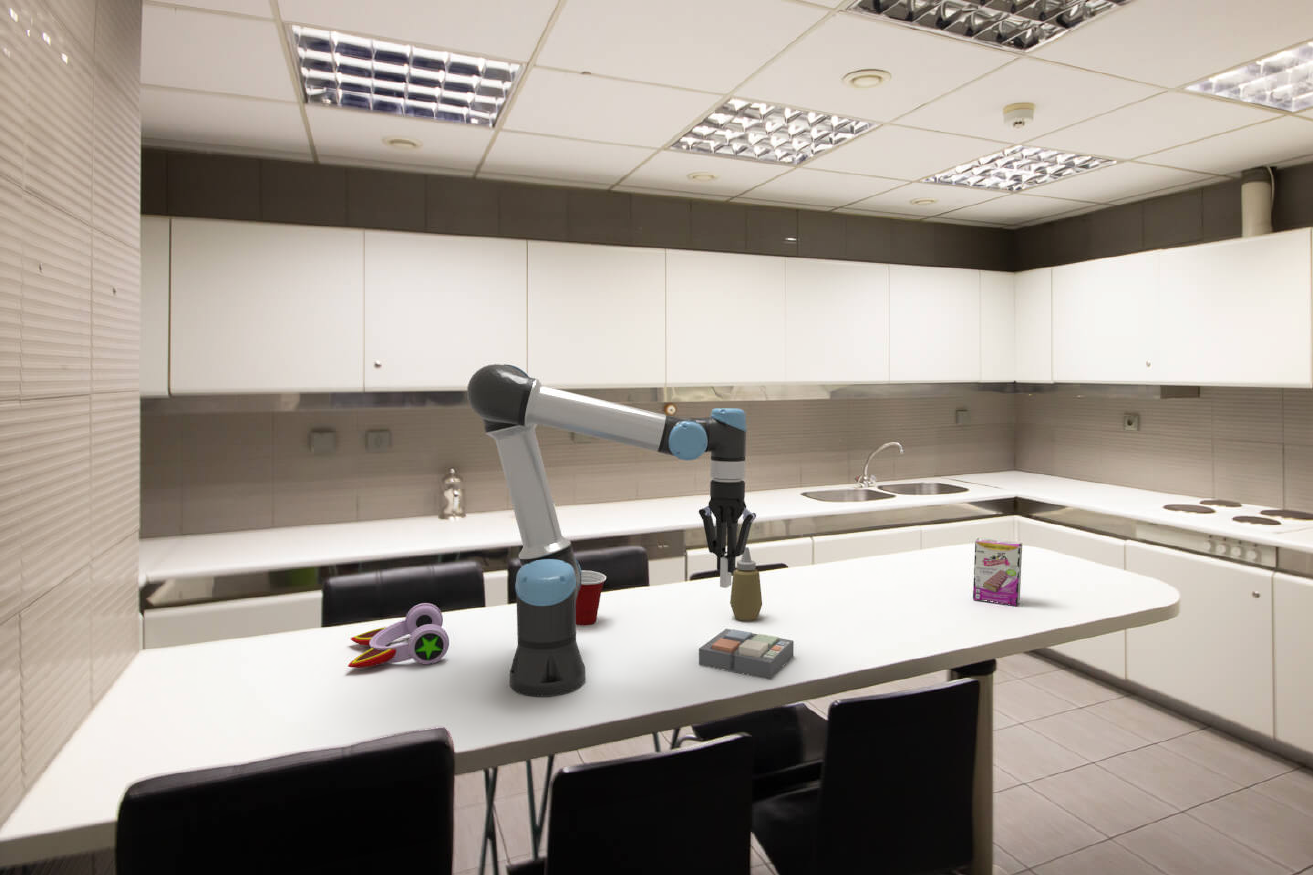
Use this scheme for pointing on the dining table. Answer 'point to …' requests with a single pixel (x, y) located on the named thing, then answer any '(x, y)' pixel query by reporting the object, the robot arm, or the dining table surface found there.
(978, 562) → the candy bar box
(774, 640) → the key sage
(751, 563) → the squeeze bottle
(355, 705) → the dining table surface
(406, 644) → the headphones
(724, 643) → the key terracotta
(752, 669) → the keypad
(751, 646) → the key cream
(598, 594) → the plastic cup
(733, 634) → the key slate
